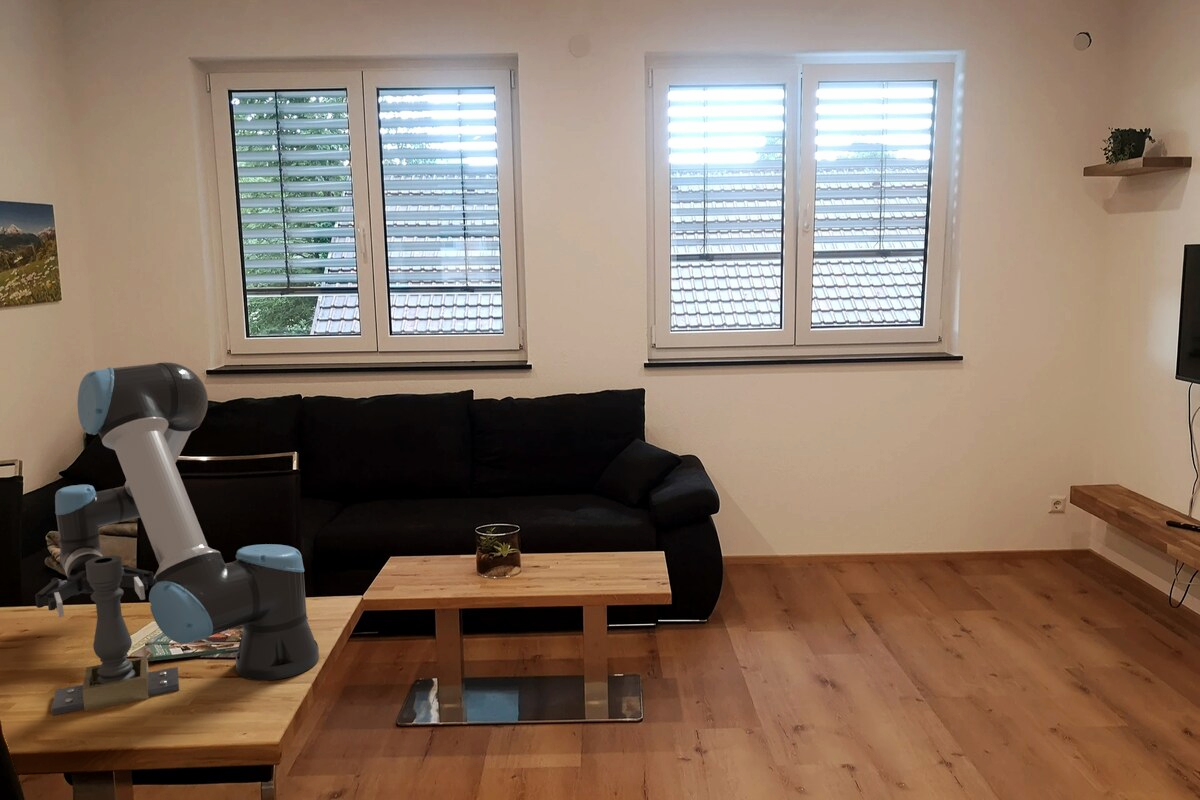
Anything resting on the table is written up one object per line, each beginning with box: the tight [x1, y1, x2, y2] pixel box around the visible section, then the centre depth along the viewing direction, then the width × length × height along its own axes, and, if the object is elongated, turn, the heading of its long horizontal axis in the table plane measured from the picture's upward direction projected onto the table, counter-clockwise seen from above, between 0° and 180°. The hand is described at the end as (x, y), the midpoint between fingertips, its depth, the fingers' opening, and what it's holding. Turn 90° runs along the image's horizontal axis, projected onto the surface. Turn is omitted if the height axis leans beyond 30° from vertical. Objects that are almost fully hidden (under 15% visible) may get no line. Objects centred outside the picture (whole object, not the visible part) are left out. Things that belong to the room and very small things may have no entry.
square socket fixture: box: [51, 655, 180, 716], centre depth 167 cm, size 20×10×4 cm, turn 115°
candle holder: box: [85, 555, 136, 685], centre depth 165 cm, size 6×6×25 cm
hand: (102, 601), depth 173 cm, fingers open, 13 cm apart
